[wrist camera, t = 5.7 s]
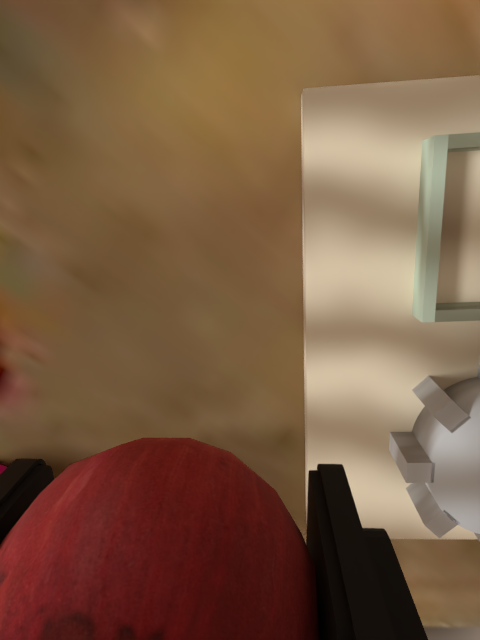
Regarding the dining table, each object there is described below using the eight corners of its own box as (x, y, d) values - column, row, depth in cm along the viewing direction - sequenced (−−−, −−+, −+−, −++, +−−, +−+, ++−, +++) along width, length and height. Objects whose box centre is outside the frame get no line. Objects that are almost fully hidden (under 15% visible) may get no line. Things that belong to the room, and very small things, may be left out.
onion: (45, 486, 11) (-428, 1094, 4) (163, 331, 10) (-201, 783, 2) (213, 595, 12) (122, 1300, 4) (345, 466, 11) (569, 1170, 3)
